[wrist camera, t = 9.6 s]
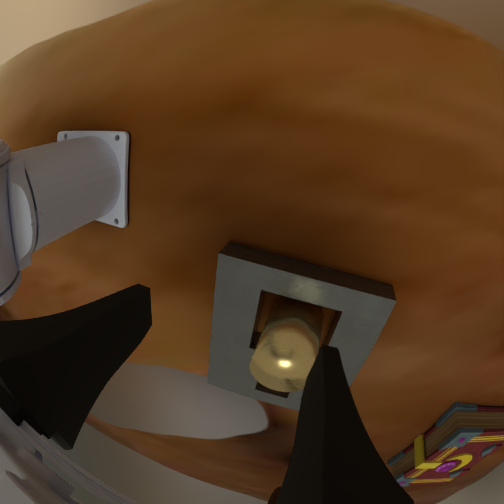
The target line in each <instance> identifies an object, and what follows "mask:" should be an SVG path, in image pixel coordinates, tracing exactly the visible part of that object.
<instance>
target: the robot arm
mask: <svg viewBox="0 0 504 504" xmlns="http://www.w3.org/2000/svg"><path fill="white" fill-rule="evenodd" d="M118 136H119V137H120V138H119V139H118ZM10 152H11V148H10V146H9V145H8V144H6V143H5V142H4V141H3V140H2V139H0V306H1V305H3V304H4V303H5V302H6V301H8V300H9V299H10V298H11V297H12V296H13V295H14V293H15V292H16V291H17V289H18V287H19V285H20V282H21V277H22V273H21V270H23V269H24V268H26V267H27V266H29V265H31V264H32V260H31V255H32V253H33V252H35V251H37V250H38V249H40V248H42V247H44V246H46V245H47V244H49V243H51V242H53V241H55V240H57V239H58V238H60V237H62V236H64V235H66V234H68V233H70V232H72V231H74V230H76V229H78V228H80V227H81V226H83V225H85V224H87V223H90V222H92V221H94V220H96V221H100V222H103V223H106V224H110V225H113V226H117V227H120V228H124V227H126V226H127V224H128V215H127V180H128V152H129V134H128V133H127V132H125V131H60V132H59V133H58V136H57V142H53V143H49V144H44V145H40V146H35V147H31V148H27V149H23V150H19V151H16V152H12V153H10ZM117 219H118V221H119V222H118V221H117ZM151 326H152V315H151V297H150V288H148V287H145V286H143V285H140V284H136V285H133V286H131V287H128V288H126V289H123V290H121V291H118V292H116V293H114V294H111V295H109V296H106V297H104V298H101V299H99V300H96V301H94V302H91V303H88V304H86V305H83V306H80V307H77V308H75V309H71V310H68V311H65V312H61V313H57V314H53V315H49V316H44V317H38V318H33V319H25V320H13V321H0V504H82V503H81V502H79V501H78V500H76V499H75V498H74V497H72V496H71V494H72V492H73V491H74V490H75V489H74V487H73V486H72V485H70V484H69V483H68V482H66V481H65V480H64V479H63V478H61V477H60V476H58V474H56V473H55V472H54V471H52V470H51V469H50V468H49V467H48V466H47V465H45V464H44V463H43V461H42V455H43V456H44V457H45V458H46V459H47V460H49V461H50V462H51V463H52V464H53V465H54V466H56V467H57V468H58V469H60V470H61V471H62V472H63V473H64V474H66V475H67V476H69V477H70V478H71V479H72V480H74V481H75V482H76V483H78V484H79V485H81V486H82V487H83V488H85V489H86V490H88V491H89V492H91V493H92V494H94V495H95V496H97V497H98V498H100V499H102V500H103V501H105V502H106V503H108V504H140V503H138V502H136V501H134V500H132V499H130V498H128V497H126V496H125V495H123V494H121V493H119V492H118V491H116V490H114V489H113V488H111V487H109V486H108V485H106V484H105V483H103V482H101V481H99V480H98V479H97V478H95V477H94V476H92V475H91V474H89V473H88V472H86V471H85V470H83V469H82V468H80V467H79V466H78V465H76V464H75V463H74V462H72V461H71V460H70V459H68V458H67V457H66V456H64V455H63V454H62V453H61V452H59V451H58V450H57V449H56V448H55V447H53V446H52V445H51V444H50V443H49V442H47V441H46V440H45V439H44V438H43V437H42V436H41V435H42V434H43V435H44V436H45V437H47V438H48V439H50V438H51V439H52V440H54V441H55V442H56V443H57V444H58V445H60V446H61V447H62V448H63V449H65V450H70V449H72V448H73V446H74V443H75V441H76V438H77V436H78V433H79V432H80V429H81V427H82V425H83V423H84V421H85V419H86V417H87V415H88V413H89V411H90V410H91V408H92V406H93V405H94V403H95V401H96V399H97V398H98V396H99V394H100V393H101V391H102V390H103V388H104V387H105V385H106V384H107V382H108V381H109V380H110V378H111V377H112V376H113V374H114V373H115V372H116V371H117V370H118V369H119V367H120V366H121V365H122V364H123V363H124V362H125V361H126V359H127V358H128V357H129V356H130V355H131V354H132V352H133V351H134V350H135V349H136V348H137V346H138V345H139V344H140V343H141V341H142V340H143V338H144V337H145V335H146V334H147V332H148V330H149V329H150V327H151ZM41 454H42V455H41ZM275 504H414V501H413V500H412V498H411V497H410V496H409V495H408V494H407V493H406V492H405V490H404V489H403V488H402V487H401V486H400V485H399V483H398V482H397V481H396V480H395V478H394V477H393V475H392V474H391V473H390V471H389V470H388V468H387V467H386V465H385V463H384V462H383V460H382V459H381V457H380V455H379V454H378V452H377V451H376V449H375V447H374V445H373V443H372V441H371V439H370V438H369V436H368V433H367V431H366V429H365V427H364V425H363V423H362V420H361V418H360V416H359V413H358V411H357V408H356V405H355V403H354V400H353V397H352V394H351V391H350V388H349V385H348V382H347V379H346V375H345V372H344V368H343V364H342V360H341V356H340V352H339V350H338V348H335V347H331V346H327V345H324V344H322V346H321V349H320V351H319V353H318V355H317V357H316V359H315V361H314V363H313V366H312V368H311V370H310V372H309V374H308V376H307V378H306V382H305V386H304V390H303V394H302V398H301V403H300V410H299V416H298V423H297V429H296V435H295V441H294V447H293V452H292V456H291V459H290V463H289V466H288V469H287V472H286V475H285V478H284V481H283V484H282V487H281V490H280V493H279V495H278V498H277V501H276V503H275Z"/></svg>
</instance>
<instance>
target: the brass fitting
mask: <svg viewBox="0 0 504 504" xmlns="http://www.w3.org/2000/svg"><path fill="white" fill-rule="evenodd" d="M322 322H323V311H322V308H321V306H319V305H315V304H311V303H308V302H304V301H300V300H296V299H293V298H289V297H286V296H281V297H280V298H279V299H277V300H276V302H275V303H274V305H273V307H272V310H271V312H270V315H269V317H268V320H267V322H266V324H265V327H264V329H263V332H262V334H261V337H260V339H259V342H258V344H257V346H256V349H255V351H254V354H253V356H252V358H251V361H250V371H251V373H252V375H253V377H254V378H255V379H256V380H257V381H258V382H259V383H261V384H262V385H264V386H265V387H267V388H270V389H272V390H276V391H281V392H295V391H299V390H302V389H304V386H305V382H306V378H307V376H308V374H309V372H310V370H311V368H312V366H313V363H314V361H315V359H316V357H317V355H318V350H319V344H320V337H321V330H322Z"/></svg>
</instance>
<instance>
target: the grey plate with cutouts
mask: <svg viewBox="0 0 504 504" xmlns="http://www.w3.org/2000/svg"><path fill="white" fill-rule="evenodd" d="M265 291H268V292H271V293H275V294H278V295H282V296H286V297H289V298H293V299H296V300H300V301H304V302H308V303H311V304H315V305H319V306H323V307H326V308H330V309H334V310H337V312H336V315H335V317H334V320H333V322H332V325H331V327H330V330H329V332H328V335H327V337H326V339H325V342H324V345H327V346H331V347H335V348H338V350H339V352H340V356H341V360H342V364H343V368H344V372H345V375H346V379H347V382H348V385H349V387H350V385H351V383H352V382H353V380H354V379H355V377H356V375H357V374H358V372H359V370H360V369H361V367H362V365H363V364H364V362H365V360H366V358H367V357H368V355H369V353H370V351H371V350H372V348H373V346H374V344H375V342H376V341H377V339H378V337H379V335H380V333H381V331H382V329H383V327H384V325H385V323H386V321H387V320H388V318H389V315H390V313H391V311H392V309H393V307H394V305H395V303H396V297H395V293H394V290H393V286H392V285H389V284H386V283H382V282H378V281H374V280H371V279H367V278H363V277H360V276H356V275H352V274H348V273H345V272H341V271H337V270H333V269H330V268H326V267H322V266H318V265H315V264H311V263H307V262H303V261H300V260H296V259H292V258H288V257H285V256H281V255H277V254H273V253H269V252H266V251H262V250H258V249H254V248H250V247H247V246H243V245H239V244H235V243H232V242H229V243H228V244H227V245H226V246H225V247H224V248H223V249H222V250H221V251H220V252H219V253H218V263H217V273H216V283H215V294H214V305H213V316H212V328H211V341H210V354H209V368H208V383H210V384H212V385H215V386H218V387H221V388H224V389H226V390H229V391H232V392H235V393H238V394H241V395H245V396H248V397H251V398H254V399H257V400H261V401H264V402H267V403H271V404H275V405H278V406H282V407H286V408H290V409H294V410H298V411H299V410H300V403H301V398H302V394H303V390H304V389H302V390H299V391H295V392H281V391H276V390H272V389H270V388H267V387H265V386H264V385H262V384H261V383H259V382H258V381H257V380H256V379H255V378H254V377H253V375H252V373H251V371H250V361H251V358H252V356H253V354H254V351H255V349H256V346H257V344H258V342H259V339H260V337H261V333H258V332H256V330H257V325H258V321H259V316H260V312H261V307H262V302H263V297H264V293H265ZM319 351H320V350H318V353H319Z"/></svg>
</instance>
